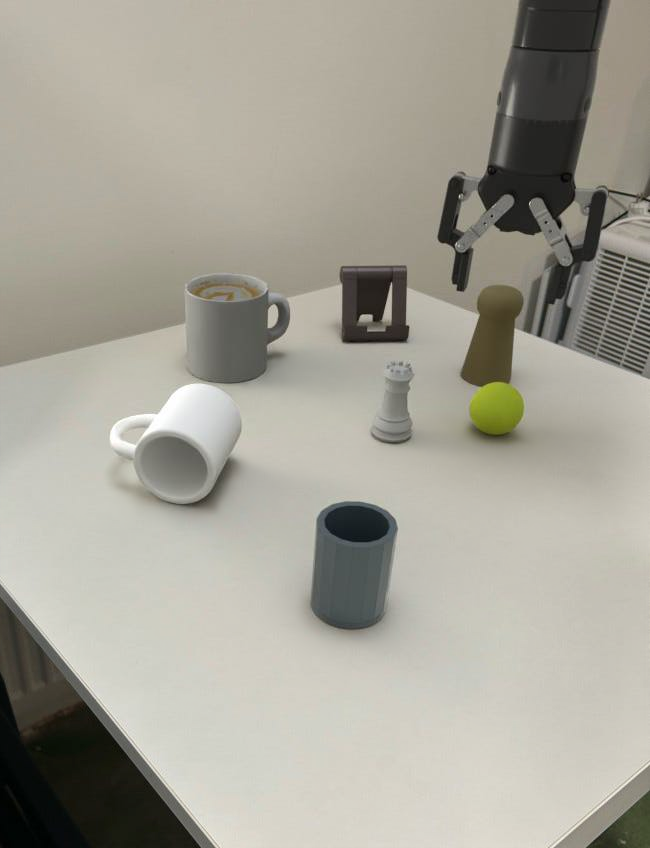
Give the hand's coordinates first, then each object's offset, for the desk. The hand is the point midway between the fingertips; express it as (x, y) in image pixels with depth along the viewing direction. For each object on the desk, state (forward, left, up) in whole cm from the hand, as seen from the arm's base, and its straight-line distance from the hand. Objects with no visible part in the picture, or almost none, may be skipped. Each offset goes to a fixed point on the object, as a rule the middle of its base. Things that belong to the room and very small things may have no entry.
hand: (505, 295), depth 80 cm
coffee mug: (+31, -7, -16) cm, 35 cm away
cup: (+5, +32, -16) cm, 36 cm away
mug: (+27, +20, -16) cm, 37 cm away
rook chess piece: (+9, +3, -16) cm, 18 cm away
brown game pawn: (+2, -16, -16) cm, 23 cm away
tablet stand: (+19, -24, -16) cm, 34 cm away
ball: (-1, -2, -13) cm, 13 cm away
